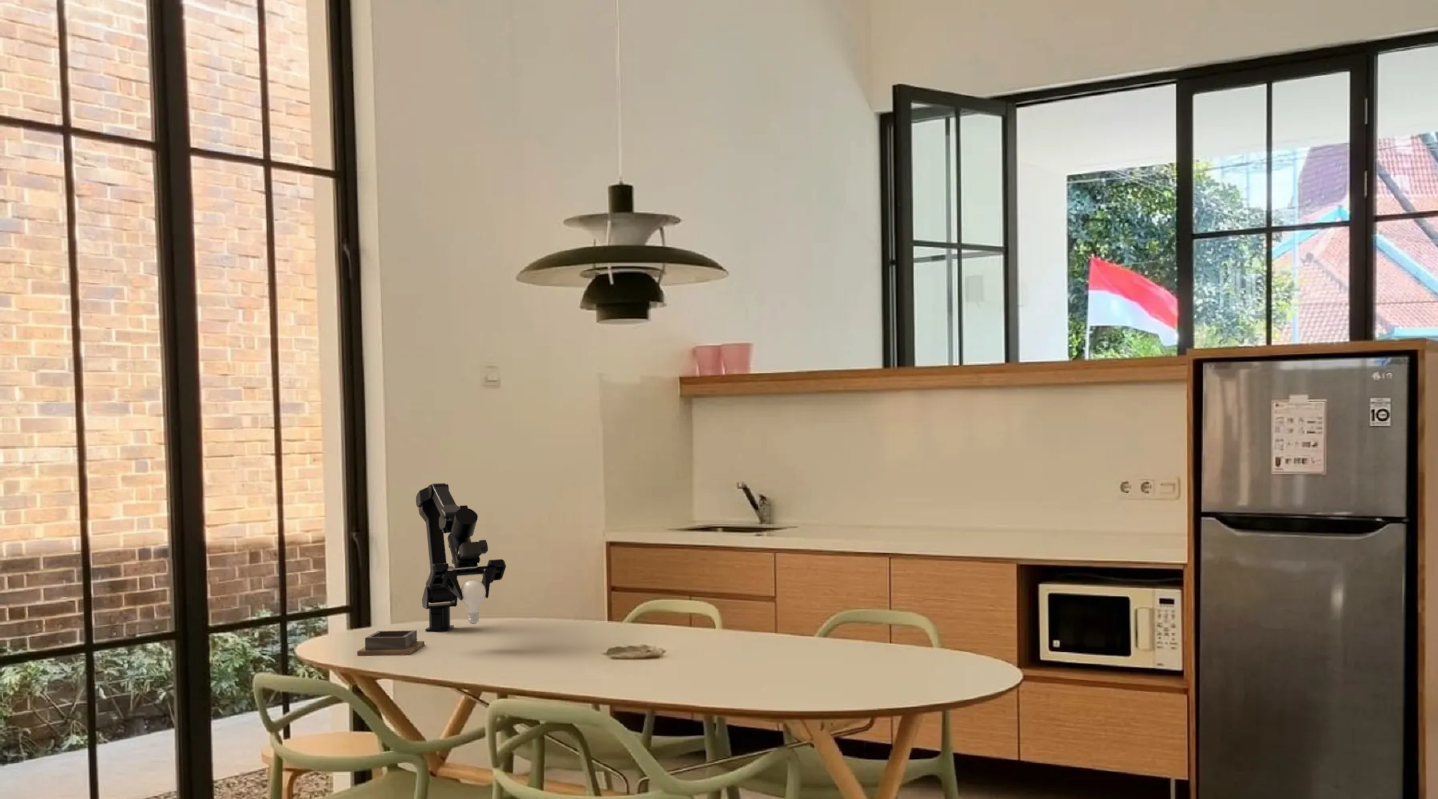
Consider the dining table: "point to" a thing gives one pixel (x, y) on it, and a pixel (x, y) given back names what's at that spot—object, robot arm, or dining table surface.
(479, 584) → the lightbulb
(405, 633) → the socket block
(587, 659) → the dining table surface
